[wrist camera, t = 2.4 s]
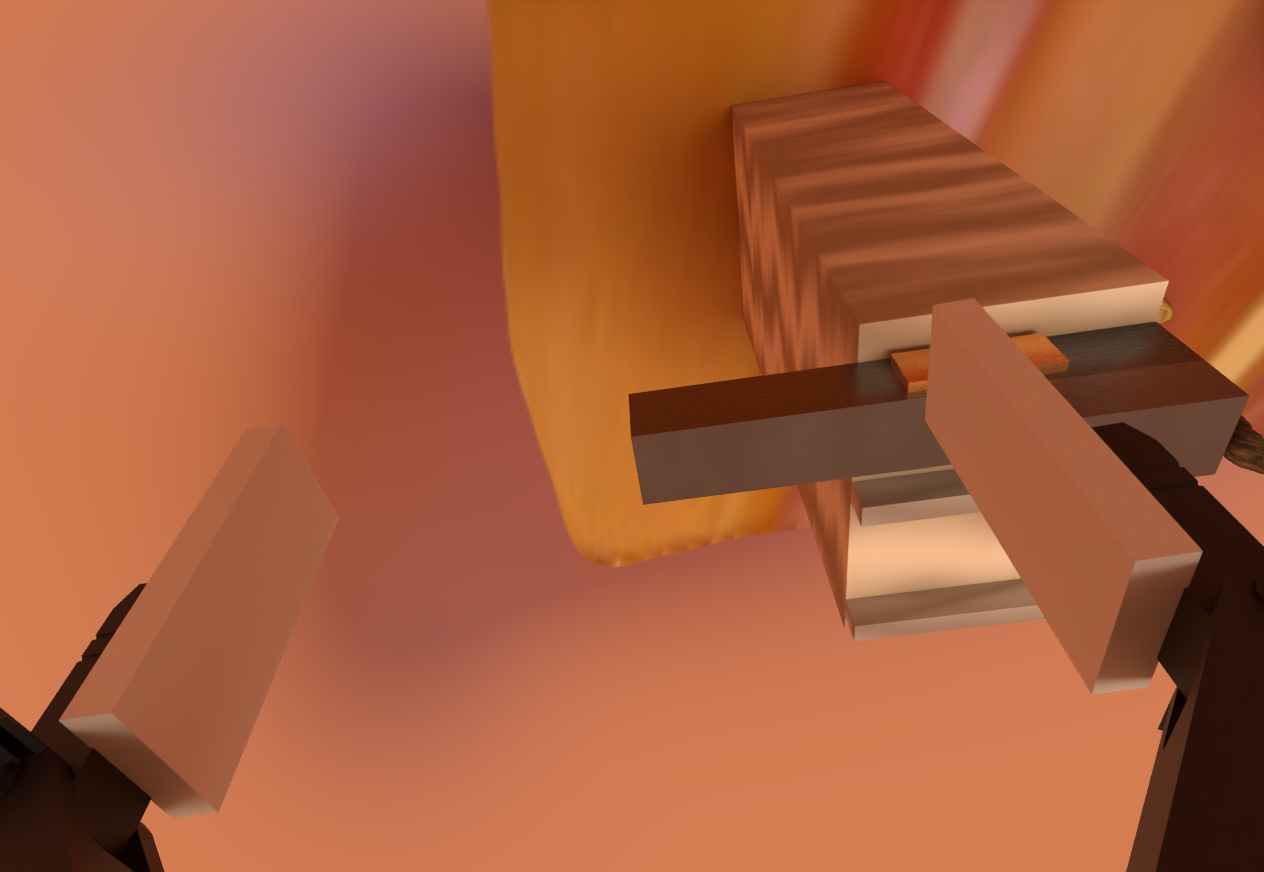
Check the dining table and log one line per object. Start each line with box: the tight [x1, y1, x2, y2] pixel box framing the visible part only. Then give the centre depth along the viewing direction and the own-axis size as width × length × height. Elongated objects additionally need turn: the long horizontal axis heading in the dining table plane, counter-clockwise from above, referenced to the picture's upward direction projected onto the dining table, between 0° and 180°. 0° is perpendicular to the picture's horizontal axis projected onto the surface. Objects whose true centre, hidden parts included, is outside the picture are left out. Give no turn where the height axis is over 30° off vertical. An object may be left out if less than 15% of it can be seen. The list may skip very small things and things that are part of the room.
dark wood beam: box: [629, 321, 1249, 505], centre depth 24 cm, size 3×18×4 cm, turn 98°
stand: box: [732, 81, 1169, 641], centre depth 40 cm, size 16×10×32 cm, turn 8°
